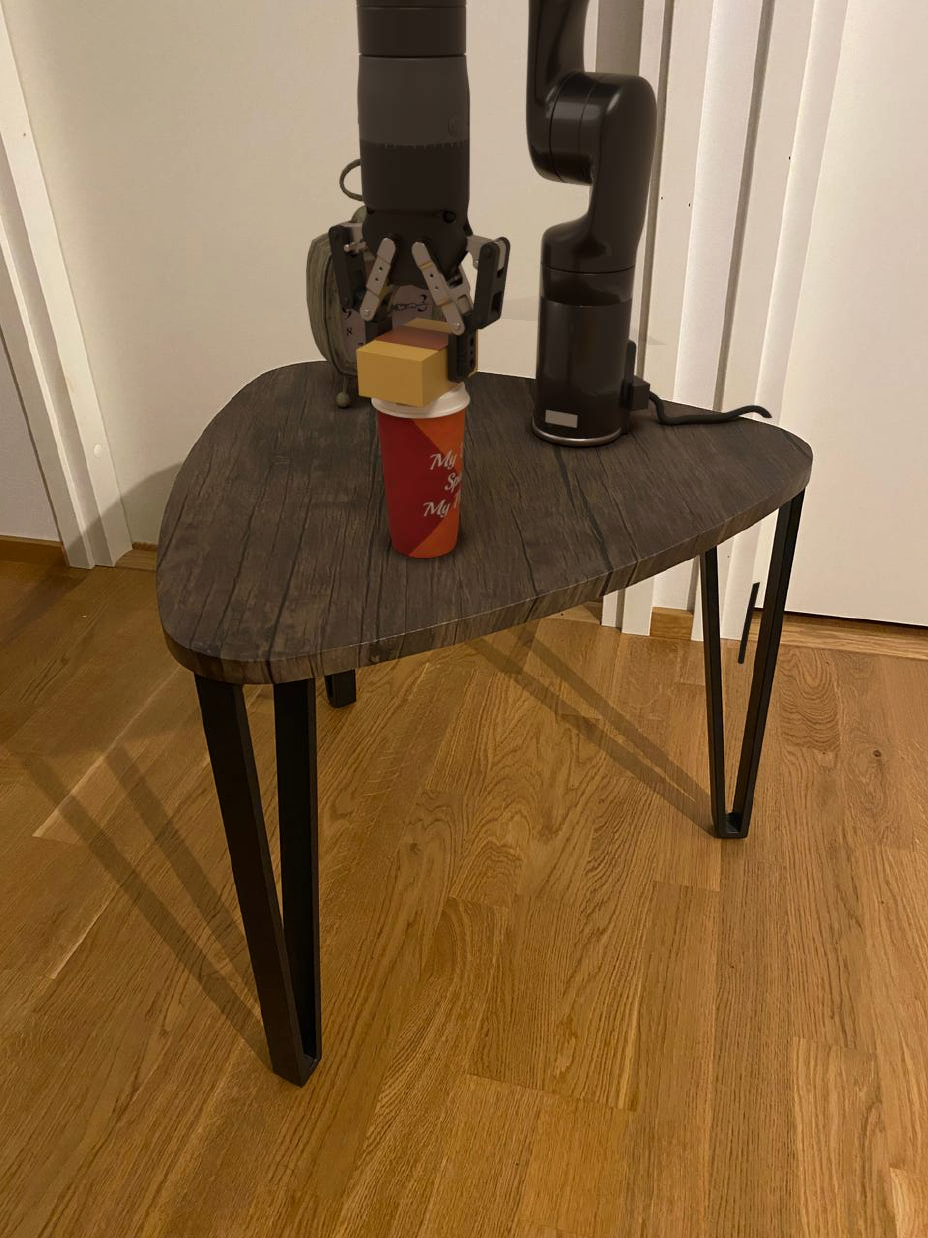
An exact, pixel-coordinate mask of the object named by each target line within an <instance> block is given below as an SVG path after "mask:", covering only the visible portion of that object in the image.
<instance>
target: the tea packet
mask: <svg viewBox="0 0 928 1238" xmlns="http://www.w3.org/2000/svg"><path fill="white" fill-rule="evenodd" d="M450 333H452V331H451V330H450V327H449V325H448V323H447V322H441V321H434V320H428V319H421V318H416V319H414V320H412V321H410V322H408V323H406V324H404V325H400V326H398V327H396V328H394V329H392V330H390V331H388V332H386V333H384V334H382V335H380V336H379V337H377V338H375V339H374V341H372V342H370V343H368V344H366V345H364V346H362V347H361V348H359V349H357V350H356V353H357V369H358V379H357V380H358V381H357V382H358V384H357V385H358V396H360V397H365V398H370V399H372V398H375V399H380V400H385V401H391V402H396V403H401V404H406V405H411V406H417V407H422V408H423V407H425V406H426V405H428V404H429V403H431V402H432V401H434V400H435V399H437V398H438V397H440V396H441V395H443V394H444V393H446V392H447V391H449V390H450V389H452V388H453V387H455V386H456V385H457V384H459V383H453V382H450V381H449V379H448V334H450ZM477 372H479V329H477V331H476V366H475V369H474V371H473V372H472V373H470V374H469V376H468V378H469V377H471V376H472V375H474V374H475V373H477Z"/></svg>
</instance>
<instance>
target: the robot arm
mask: <svg viewBox="0 0 928 1238" xmlns="http://www.w3.org/2000/svg"><path fill="white" fill-rule="evenodd" d="M527 1H528V3H527V4H528V5H527V6H528V10H527V12H528V15H527V16H528V17H527V49H526V51H527V52H526V53H527V54H526V79H525V132H526V133H525V134H526V135H525V136H526V143H527V150H528V154H529V158H530V161H531V163H532V166H533V168H534V170H535V171H536V173H537V174H538V175H539V176H540V177H541V178H542V179H545V180H547V181H549V182H550V181H551V182H555V183H560V184H567V185H568V184H569V185H574V186H581V187H582V186H583V187H591V192H590V199H589V203H588V208H587V211H586V212H585V213H584V214H583V215H581V216H580V217H578V218H575V219H570V220H567V221H563V222H560V223H557V224H554V225H552V226H549V227H548V228H546V230H544V232H543V234H542V235H541V240H540V253H539V254H540V257H539V260H540V261H539V277H538V278H539V281H538V302H537V303H538V306H537V325H536V326H537V327H536V329H537V330H536V354H535V374H534V375H535V378H534V402H533V417H532V426H531V427H532V428H531V429H532V431H533V433H534V434H535V435H536V436H537V437H538V438H540V439H542V440H545V441H546V442H549V443H553V444H557V445H563V446H568V447H593V446H600V445H604V444H608V443H610V442H613V441H615V440H617V439H618V438H619V437H620V436H621V435H623V434H628V433H629V430H630V422H631V421H630V420H631V412H636V411H641V410H647V409H649V402H650V401H651V402H652V403H653V404H654V406H655V411H656V416H657V419H658V420H659V422H661V423H663V424H665V425H669V426H677V425H681V424H686V423H714V422H718V423H719V422H723V421H728V420H732V419H734V418H735V419H736V418H739V417H740V416H743V415H746V414H751V413H756V414H758V415H759V416H761V417H762V418H764V419H772V418H773V416H772V414H771V413H770V411H769V410H768V409H766V408H765V407H763V406H761V405H756V404H748V405H745V406H740V407H738V408H734V409H732V410H729V411H726V412H721V413H713V414H710V413H709V414H685V415H680V416H675V417H674V416H673V417H669V416H667V415H666V413H665V408H664V403H663V400H662V399H661V398H660V397H659V395H657V394H656V393H655V392H653V391H651V383H649V382H648V381H647V380H644V379H643V378H641V377H639V376H637V375H636V374H635V369H636V359H637V348H638V346H637V343H636V342H635V341H634V340H632V339H630V334H631V324H632V314H633V313H632V311H633V301H634V289H635V278H636V269H637V258H638V250H639V247H640V246H639V245H640V242H641V238H642V234H643V231H644V227H645V223H646V214H647V209H648V202H649V201H648V200H649V192H650V185H651V179H652V173H653V165H654V159H655V152H656V145H657V137H658V121H659V114H658V101H657V97H656V93H655V91H654V89H653V85H651V83H650V81H649V80H648V79H646V78H645V77H643V76H640V75H636V74H630V73H617V72H601V71H600V72H598V71H586V67H585V39H586V38H585V36H586V26H587V16H588V12H589V6H590V3H591V0H527ZM355 3H356V4H355V6H356V7H355V9H356V28H357V29H356V31H357V48H358V49H357V50H358V54H359V55H358V74H357V75H358V76H357V83H356V84H357V86H356V87H357V88H356V103H357V104H356V105H357V125H358V140H359V141H358V145H359V159H360V165H361V166H360V184H361V195H362V200H363V202H362V203H363V204H364V205H366V216H365V219H364V221H363V223H357V222H356V221H354V220H351V219H349V220H347V221H343V222H340V223H339V222H338V223H336V224H335V225H332V226H330V227H329V228H328V231H327V233H328V236H329V242H330V248H331V254H332V260H333V266H334V272H335V278H336V284H337V290H338V296H339V302H340V304H341V306H342V307H343V308H344V309H353V310H355V311H356V312H358V313H360V315H361V317H362V318H363V319H364V322H365V338H366V344H368V343H370V342H372V341H374V339H375V338H377V337H379V336H380V335H382V334H384V333H386V332H388V331H390V330H392V329H393V323H392V316H388V315H387V312H388V311H389V309H390V307H391V304H392V302H393V299H394V297H395V294H396V292H397V290H398V289H399V288H400V287H401V286H407V285H413V286H415V287H417V288H420V289H424V290H430V292H431V294H432V297H433V299H434V301H435V303H436V305H437V306H439V307H441V309H442V311H443V313H444V316H445V318H446V320H447V323H448V325H449V327H450V330H451V331H452V333H450V334H448V379H449V381H450V382H453V383H461V382H462V381H463V382H464V381H465V380H467V379H468V378H469V377H470V376H469V374H470V373H472V372H473V371H474V369H475V366H476V331H477V329H478V331H479V330H480V331H481V330H484V329H486V328H487V327H489V326H491V325H492V324H494V323H496V322H497V321H500V319H501V317H502V312H503V305H504V297H505V291H506V284H507V277H508V269H509V262H510V256H511V255H510V254H511V242H510V240H509V239H508V238H507V237H505V236H499V237H497V238H494V239H492V238H488V237H484V236H481V235H478V234H477V235H476V234H474V230H473V229H472V226H471V224H470V220H469V215H468V213H469V206H470V198H471V191H470V190H471V90H470V80H469V71H468V61H467V59H468V58H467V57H468V56H467V55H466V53H467V5H468V3H467V0H355ZM366 244H367V245H368V247H369V249H370V250H371V252H372V254H373V256H374V257H375V259H376V261H375V264H374V266H373V269H372V272H371V274H370V277H369V279H368V280H367V274H366V267H365V261H364V254H363V251H364V249H365V245H366ZM468 254H470V255H471V258H472V267H473V268H474V269H475V270H476V271H477V272H476V280H475V286H474V287H475V288H474V297H473V299H472V296H471V290H472V289H471V284H470V281H469V279H468V277H467V274H466V271H465V269H464V267H463V265H462V263H463V262H464V260H465V258H466V257H467V255H468ZM448 281H449V282H450V288H449V287H448V285H447V282H448ZM468 376H469V377H468ZM760 585H761V581H758V582H754V583H752V586H751V591H750V595H749V599H748V604H747V609H746V614H745V618H744V623H743V627H742V633H741V638H740V642H739V643H740V645H739V650H738V657H737V661H736V662H737V664H739V665H743V664H744V663H745V660H746V659H745V658H746V654H747V653H746V652H747V647H748V641H749V636H750V631H751V626H752V622H753V617H754V612H755V607H756V603H757V599H758V593H759V589H760V587H761V586H760Z"/></svg>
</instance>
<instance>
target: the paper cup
mask: <svg viewBox="0 0 928 1238" xmlns="http://www.w3.org/2000/svg"><path fill="white" fill-rule="evenodd" d="M470 402H471V396H470V395H469V392H468V391H467V390H466V385H465V382H464V381H462V382H461V383H459V384H457V385H456V386H455V387H453V388H452V389H450V390H449V391H447V392H446V393H444V394H443V395H441V396H440V397H438V398H437V399H435V400H434V401H432V402H431V403H429V404H428V405H426V406H425V407H423V408H422V407H417V406H411V405H406V404H401V403H396V402H391V401H385V400H380V399H375V398H371V404H372V406H373V408H375V410H376V417H377V418H376V419H377V427H378V435H379V436H378V437H379V445H380V446H379V447H380V456H381V464H382V473H383V482H384V491H385V492H384V493H385V499H386V508H387V516H388V525H389V526H388V527H389V533H390V538H391V544H392V547H393V548H394V551H396V552H398V553H399V554H401V555H404V556H406V557H410V558H415V559H431V558H436V557H441V556H444V555H446V554H448V553H450V552H451V551H453V550H454V549H455V548H456V546H457V543H458V537H459V536H458V535H459V526H460V525H459V523H460V512H461V509H460V508H461V497H462V496H461V494H462V479H463V460H464V443H465V427H466V411H467V410H466V409H467V407H468V405H469V404H470Z"/></svg>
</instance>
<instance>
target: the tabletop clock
mask: <svg viewBox="0 0 928 1238" xmlns="http://www.w3.org/2000/svg"><path fill="white" fill-rule="evenodd" d="M357 167H361V165H360V158H357V159H354V160H352V161H351V162H349V163H347V165H346V166H344V168H343V169H342V170H341V173H340V176H339V180H338V183H339V188H340V189H341V192H342V193H343V194H344V195H345V196H347V198H349V199H352V200H353V201H357V202H361V203H364V202H363V200H362V194H360V193H356V192H352V191H350V190H348V189H347V188H346V186H345V184H344V183H345V179H346V177H347V175H348V174H349V173H350V172H351V171H352V170H354V169H356V168H357ZM365 216H366V205H365V204H364V205H361V206H360V207H358V208H357V209H355V211H354V213H353V215H352V216H351V219H350V220H354V221H356V222H357V223H363V221H364V219H365ZM363 254H364V261H365V267H366V274H367V280H368V279H369V277H370V274H371V272H372V269H373V266H374V264H375V261H376V259H375V257H374V256H373V254H372V252H371V250H370V249H369V247H368V245H367V244H366V245H365V249H364V251H363ZM305 280H306V281H305V288H306V289H305V292H306V295H305V296H306V297H305V298H306V305H307V311H308V318H309V324H310V331H311V334H312V337H313V341H314V343H315V345H316V347H317V349H318V351H319V353H320V355H321V356H322V357H323V358H324V359H325V360H326V362H327V363H328V364H329V365H330V367H331V368H332V369H333V370H334V371H335V373H336V374H337V375H339V376H342V377H343V385H342V390H341V391H340V392H339V393H337V394H336V395H335V398H334V399H335V403H336V405H337V406H338V407H340V408H346V407H347V406H348V405H349V404H351V403H350V402H351V397H350V395H349V393H348V391H349V388H350V385H351V382H352V379H357V380H358V369H357V353H356V350H357V349H359V348H361V347H362V346H364V345H366V338H365V322H364V319H363V318H362V317H361V315H360V313H358V312H356V311H355V310H353V309H344V308H343V307H342V306H341V304H340V302H339V296H338V290H337V284H336V278H335V272H334V266H333V260H332V254H331V248H330V242H329V236H328V232H325V233H322V234H321V235H319V236H316V237H315V238H313V239H312V240H311V242H310V245H309V249H308V252H307V256H306V268H305ZM447 285H448V287H449V288H450V282H449V281H448V282H447ZM387 315H388V316H392V323H393V329H394V328H396V327H398V326H400V325H404V324H406V323H408V322H410V321H412V320H414V319H416V318H421V319H428V320H434V321H441V322H447V320H446V318H445V316H444V313H443V311H442V309H441V307H439V306H437V305H436V303H435V301H434V299H433V297H432V294H431V292H430V290H424V289H420V288H417V287H415V286H413V285H407V286H401V287H400V288H399V289H398V290H397V292H396V294H395V297H394V299H393V302H392V304H391V307H390V309H389V311H388V312H387Z"/></svg>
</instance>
